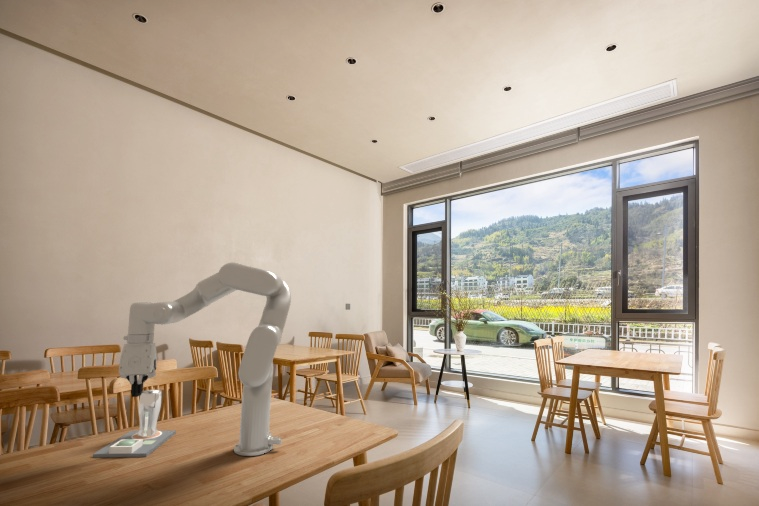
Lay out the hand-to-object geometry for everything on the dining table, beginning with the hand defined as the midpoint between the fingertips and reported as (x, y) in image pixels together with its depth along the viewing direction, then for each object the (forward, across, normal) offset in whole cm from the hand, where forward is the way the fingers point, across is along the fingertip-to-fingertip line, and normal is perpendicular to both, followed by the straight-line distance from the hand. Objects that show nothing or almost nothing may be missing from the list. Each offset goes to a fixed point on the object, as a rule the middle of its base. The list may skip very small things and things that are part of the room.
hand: (136, 395), depth 129 cm
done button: (+16, -2, 0) cm, 16 cm away
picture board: (+18, -2, +7) cm, 19 cm away
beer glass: (+17, -2, +13) cm, 21 cm away
